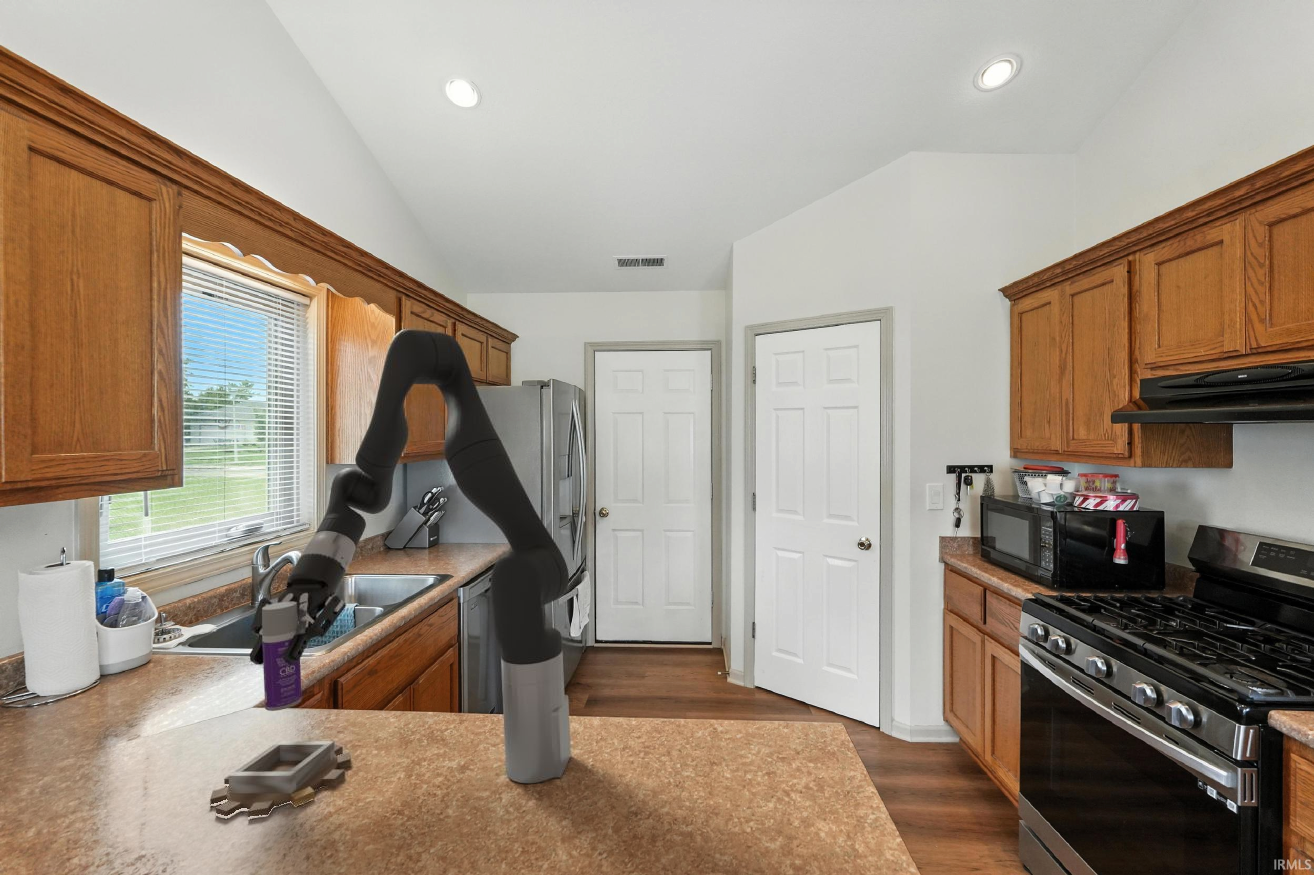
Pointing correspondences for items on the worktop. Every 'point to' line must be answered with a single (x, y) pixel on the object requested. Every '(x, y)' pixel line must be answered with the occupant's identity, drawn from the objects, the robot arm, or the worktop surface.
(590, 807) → the worktop surface
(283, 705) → the container
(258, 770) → the sprocket
